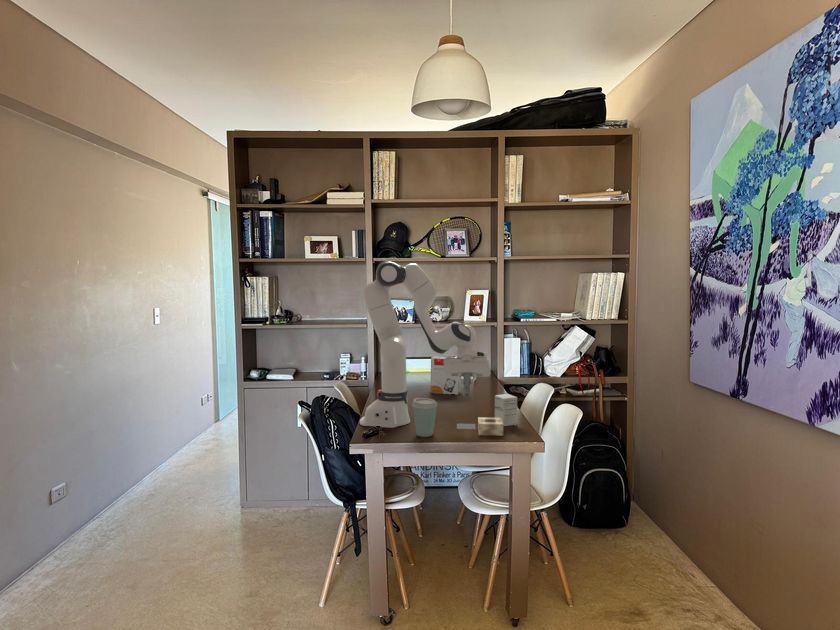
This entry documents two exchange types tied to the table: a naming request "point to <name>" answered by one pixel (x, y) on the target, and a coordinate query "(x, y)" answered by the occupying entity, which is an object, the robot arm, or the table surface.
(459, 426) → the rubber mat
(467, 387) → the steel pin
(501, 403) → the supplement box
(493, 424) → the birch block
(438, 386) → the hard drive box
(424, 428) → the disposable coffee cup
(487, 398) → the table surface
